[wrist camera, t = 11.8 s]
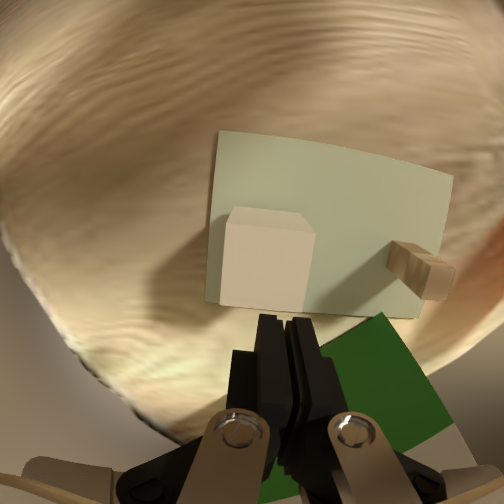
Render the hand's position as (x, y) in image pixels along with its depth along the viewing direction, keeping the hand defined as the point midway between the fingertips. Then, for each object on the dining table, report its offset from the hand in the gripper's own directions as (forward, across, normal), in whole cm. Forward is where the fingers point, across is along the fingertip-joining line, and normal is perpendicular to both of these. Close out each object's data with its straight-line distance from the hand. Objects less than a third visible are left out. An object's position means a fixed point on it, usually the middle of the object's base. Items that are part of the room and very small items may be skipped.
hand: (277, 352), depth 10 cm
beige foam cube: (+15, 0, 0) cm, 15 cm away
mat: (+16, -6, 0) cm, 18 cm away
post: (+16, -13, 0) cm, 21 cm away
